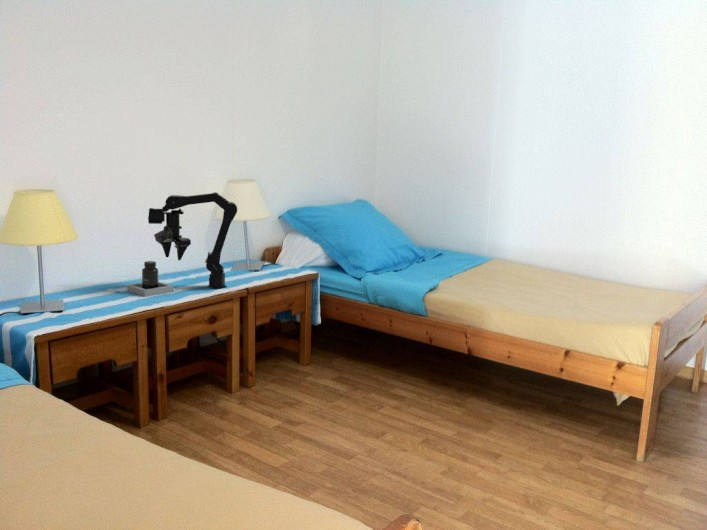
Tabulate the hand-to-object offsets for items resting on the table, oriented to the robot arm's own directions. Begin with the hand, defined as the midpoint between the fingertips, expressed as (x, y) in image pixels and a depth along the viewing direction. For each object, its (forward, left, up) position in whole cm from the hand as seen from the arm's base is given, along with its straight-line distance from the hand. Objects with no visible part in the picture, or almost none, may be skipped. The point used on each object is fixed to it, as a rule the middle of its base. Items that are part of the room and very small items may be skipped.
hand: (173, 258), depth 305 cm
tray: (+12, 0, -13) cm, 18 cm away
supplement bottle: (+12, 0, -12) cm, 17 cm away
